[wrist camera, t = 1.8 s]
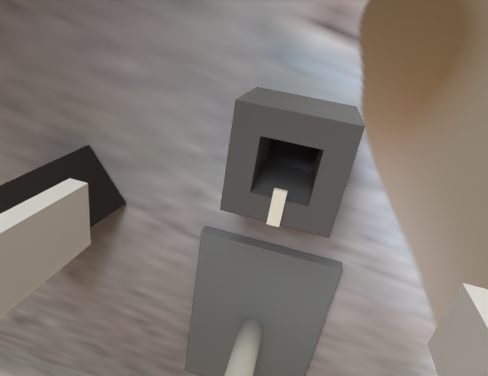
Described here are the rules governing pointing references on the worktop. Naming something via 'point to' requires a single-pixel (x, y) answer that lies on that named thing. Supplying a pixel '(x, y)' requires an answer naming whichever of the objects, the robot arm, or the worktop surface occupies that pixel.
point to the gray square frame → (284, 177)
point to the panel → (256, 307)
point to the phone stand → (70, 166)
